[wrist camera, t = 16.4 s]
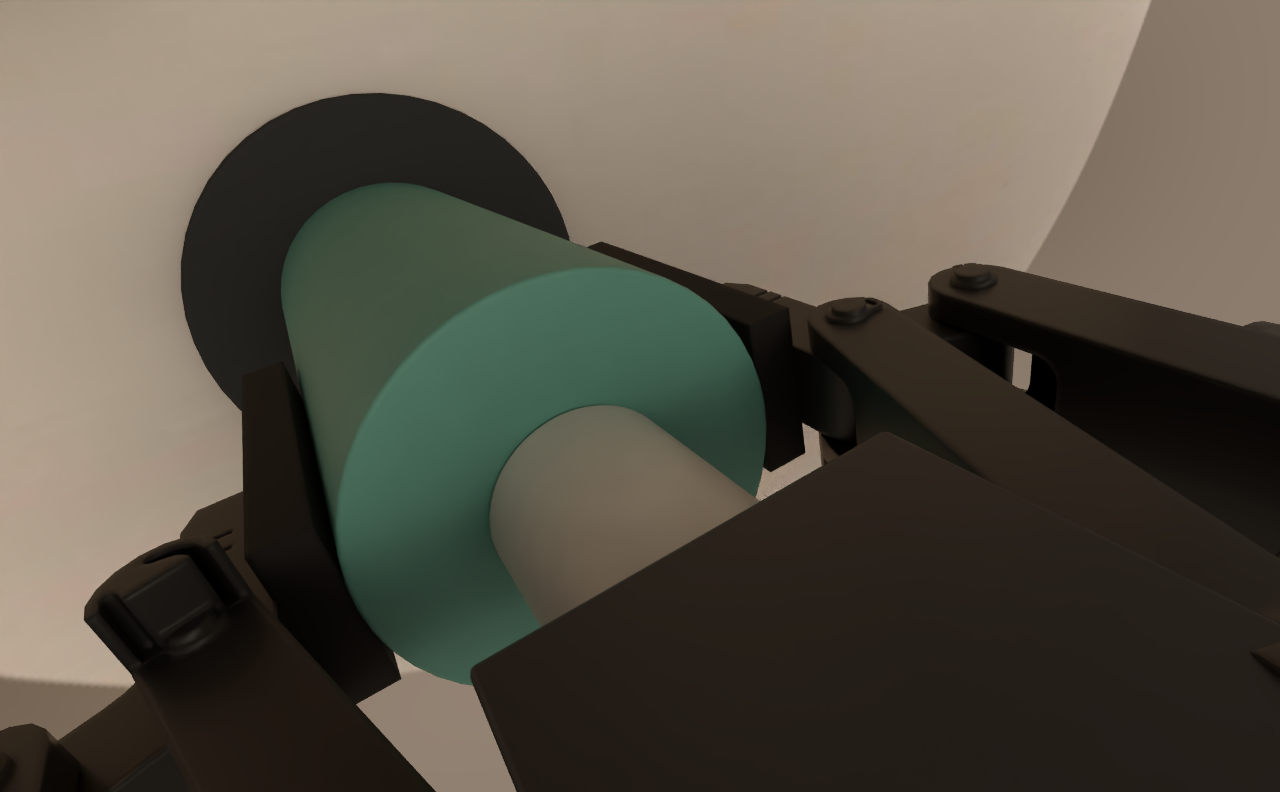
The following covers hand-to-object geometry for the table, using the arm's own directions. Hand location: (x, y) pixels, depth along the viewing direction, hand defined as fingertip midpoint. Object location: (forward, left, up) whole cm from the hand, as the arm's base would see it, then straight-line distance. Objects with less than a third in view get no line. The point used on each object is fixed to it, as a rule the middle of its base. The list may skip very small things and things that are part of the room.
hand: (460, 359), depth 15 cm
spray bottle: (0, 0, -6) cm, 6 cm away
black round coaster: (0, 0, -7) cm, 7 cm away
